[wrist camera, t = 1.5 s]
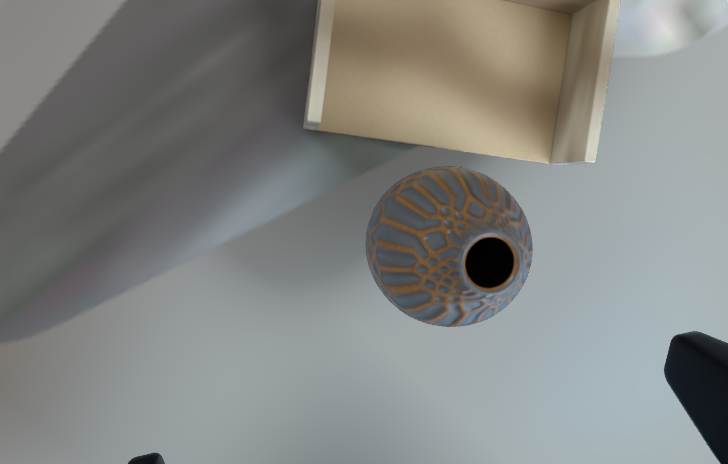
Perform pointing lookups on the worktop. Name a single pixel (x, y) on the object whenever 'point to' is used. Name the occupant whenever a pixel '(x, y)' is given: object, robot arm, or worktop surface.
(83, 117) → the worktop surface
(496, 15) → the shoe shelf
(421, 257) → the vase
